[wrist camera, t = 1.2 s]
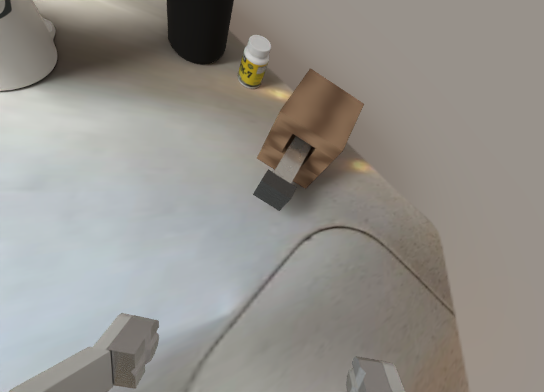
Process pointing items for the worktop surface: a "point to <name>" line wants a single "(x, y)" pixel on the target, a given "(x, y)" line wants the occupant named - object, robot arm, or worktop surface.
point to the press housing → (312, 126)
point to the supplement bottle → (254, 61)
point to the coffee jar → (199, 28)
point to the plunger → (283, 176)
